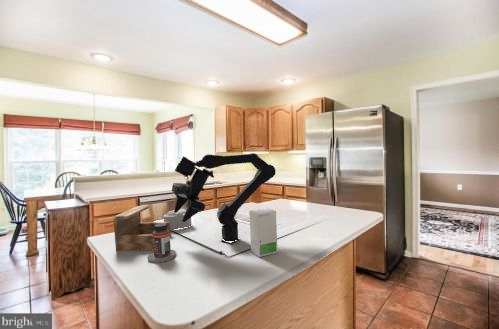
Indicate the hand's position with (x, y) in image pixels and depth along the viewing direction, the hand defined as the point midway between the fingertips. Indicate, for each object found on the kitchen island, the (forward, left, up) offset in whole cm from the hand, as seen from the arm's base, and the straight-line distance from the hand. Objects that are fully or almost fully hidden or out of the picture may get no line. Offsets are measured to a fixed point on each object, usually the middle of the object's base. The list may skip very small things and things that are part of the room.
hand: (179, 216), depth 101 cm
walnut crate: (+18, +5, -12) cm, 22 cm away
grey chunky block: (+24, -15, -13) cm, 31 cm away
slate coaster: (-2, +10, -12) cm, 16 cm away
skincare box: (-31, -14, -12) cm, 37 cm away
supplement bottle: (-2, +10, -12) cm, 15 cm away
